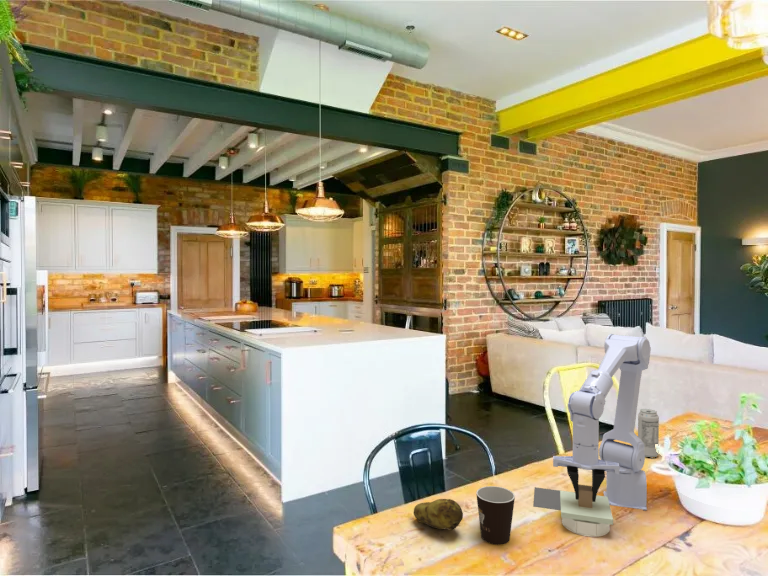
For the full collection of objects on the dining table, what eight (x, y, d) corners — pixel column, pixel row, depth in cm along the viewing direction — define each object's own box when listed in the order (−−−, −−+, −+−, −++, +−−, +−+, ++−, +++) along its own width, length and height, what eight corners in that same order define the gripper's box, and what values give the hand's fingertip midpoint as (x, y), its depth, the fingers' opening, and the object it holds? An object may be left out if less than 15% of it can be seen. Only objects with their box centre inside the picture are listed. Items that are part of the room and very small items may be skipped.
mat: (580, 494, 134) (580, 493, 134) (583, 514, 122) (583, 513, 122) (534, 488, 138) (534, 487, 138) (533, 507, 126) (533, 506, 126)
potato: (438, 513, 124) (438, 482, 123) (468, 538, 112) (468, 503, 112) (409, 520, 120) (409, 488, 120) (437, 546, 108) (437, 511, 108)
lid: (607, 501, 120) (607, 480, 120) (613, 524, 110) (613, 502, 110) (560, 495, 124) (560, 475, 124) (561, 517, 114) (561, 495, 113)
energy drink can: (656, 453, 164) (657, 409, 164) (659, 460, 158) (660, 414, 158) (636, 451, 166) (637, 407, 166) (638, 457, 161) (639, 412, 160)
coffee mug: (515, 549, 107) (516, 504, 107) (475, 545, 109) (476, 501, 109) (512, 523, 118) (513, 482, 118) (476, 519, 120) (476, 479, 120)
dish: (606, 519, 120) (606, 506, 120) (611, 541, 110) (611, 526, 110) (561, 513, 123) (561, 499, 123) (562, 533, 113) (562, 519, 113)
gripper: (553, 444, 115) (553, 501, 115) (621, 451, 110) (620, 511, 110) (553, 435, 121) (552, 489, 122) (617, 441, 117) (616, 497, 117)
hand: (585, 498), depth 117 cm, fingers closed on lid, 3 cm apart
